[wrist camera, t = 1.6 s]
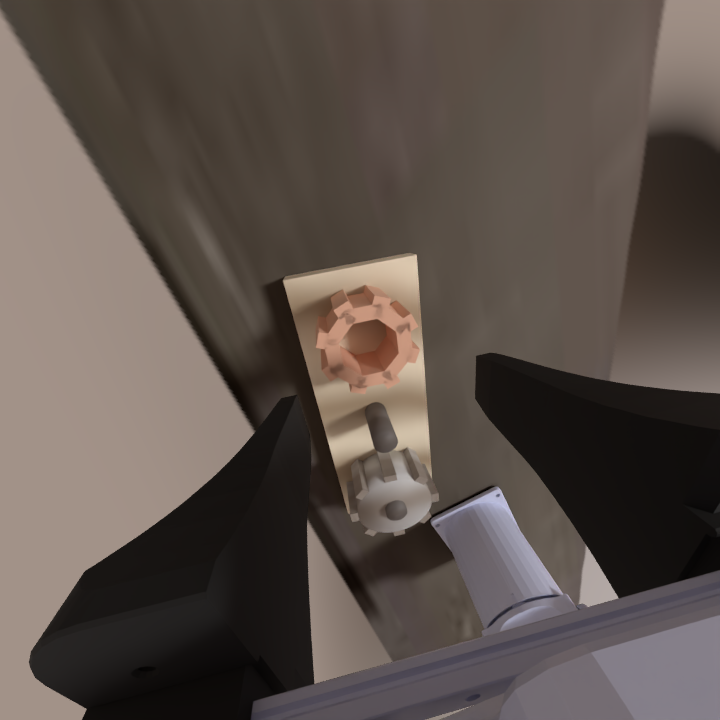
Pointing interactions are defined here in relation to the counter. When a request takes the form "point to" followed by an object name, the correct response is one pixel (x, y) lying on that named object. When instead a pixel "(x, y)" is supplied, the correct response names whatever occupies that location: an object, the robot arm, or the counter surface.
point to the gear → (368, 365)
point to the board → (371, 398)
